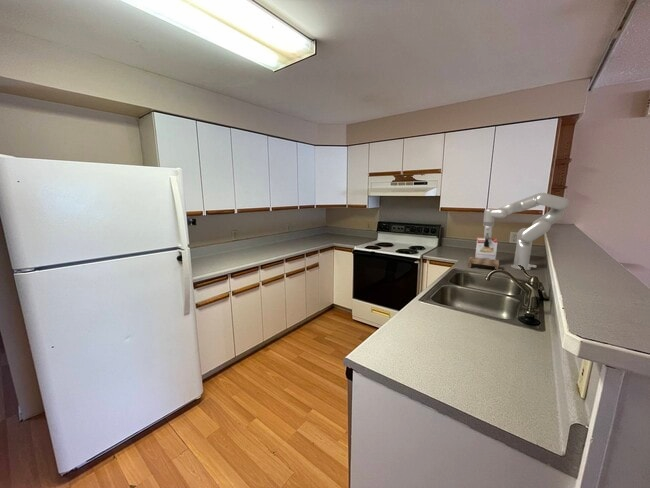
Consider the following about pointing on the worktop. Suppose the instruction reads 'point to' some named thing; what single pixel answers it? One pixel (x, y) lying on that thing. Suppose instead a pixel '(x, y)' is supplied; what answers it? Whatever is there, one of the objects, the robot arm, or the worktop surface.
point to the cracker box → (486, 249)
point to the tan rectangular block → (483, 262)
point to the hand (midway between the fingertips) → (486, 245)
